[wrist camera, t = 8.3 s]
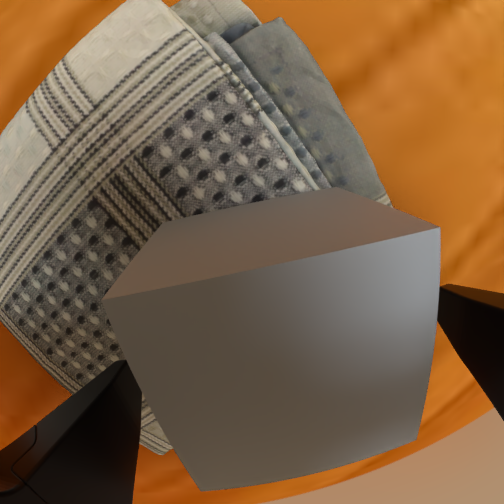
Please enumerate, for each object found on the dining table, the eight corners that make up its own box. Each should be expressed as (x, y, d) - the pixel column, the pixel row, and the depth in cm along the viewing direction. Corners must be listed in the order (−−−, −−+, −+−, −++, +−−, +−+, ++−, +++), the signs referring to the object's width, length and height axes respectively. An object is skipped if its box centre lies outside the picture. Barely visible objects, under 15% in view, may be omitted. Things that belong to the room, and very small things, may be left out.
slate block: (206, 366, 13) (200, 491, 7) (163, 222, 11) (101, 299, 5) (350, 334, 13) (416, 439, 7) (336, 187, 11) (440, 227, 5)
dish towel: (160, 443, 18) (154, 482, 14) (-41, 227, 12) (-77, 244, 9) (425, 280, 15) (460, 306, 12) (222, -25, 10) (223, -63, 7)
